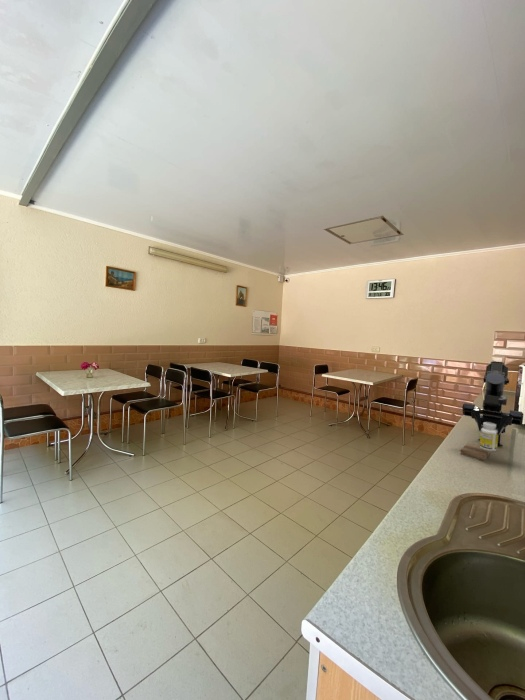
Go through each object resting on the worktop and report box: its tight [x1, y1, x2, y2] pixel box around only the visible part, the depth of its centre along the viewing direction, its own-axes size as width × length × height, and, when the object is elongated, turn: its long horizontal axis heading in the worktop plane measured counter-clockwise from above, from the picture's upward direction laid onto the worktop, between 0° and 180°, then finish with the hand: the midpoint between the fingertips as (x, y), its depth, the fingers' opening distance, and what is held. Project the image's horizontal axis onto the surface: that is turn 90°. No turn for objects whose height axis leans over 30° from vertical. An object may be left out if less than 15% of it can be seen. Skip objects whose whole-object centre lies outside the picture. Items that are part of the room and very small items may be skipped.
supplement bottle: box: [479, 422, 498, 452], centre depth 114 cm, size 5×5×10 cm
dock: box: [460, 442, 491, 461], centre depth 122 cm, size 10×8×2 cm
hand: (488, 432), depth 113 cm, fingers closed on supplement bottle, 5 cm apart
